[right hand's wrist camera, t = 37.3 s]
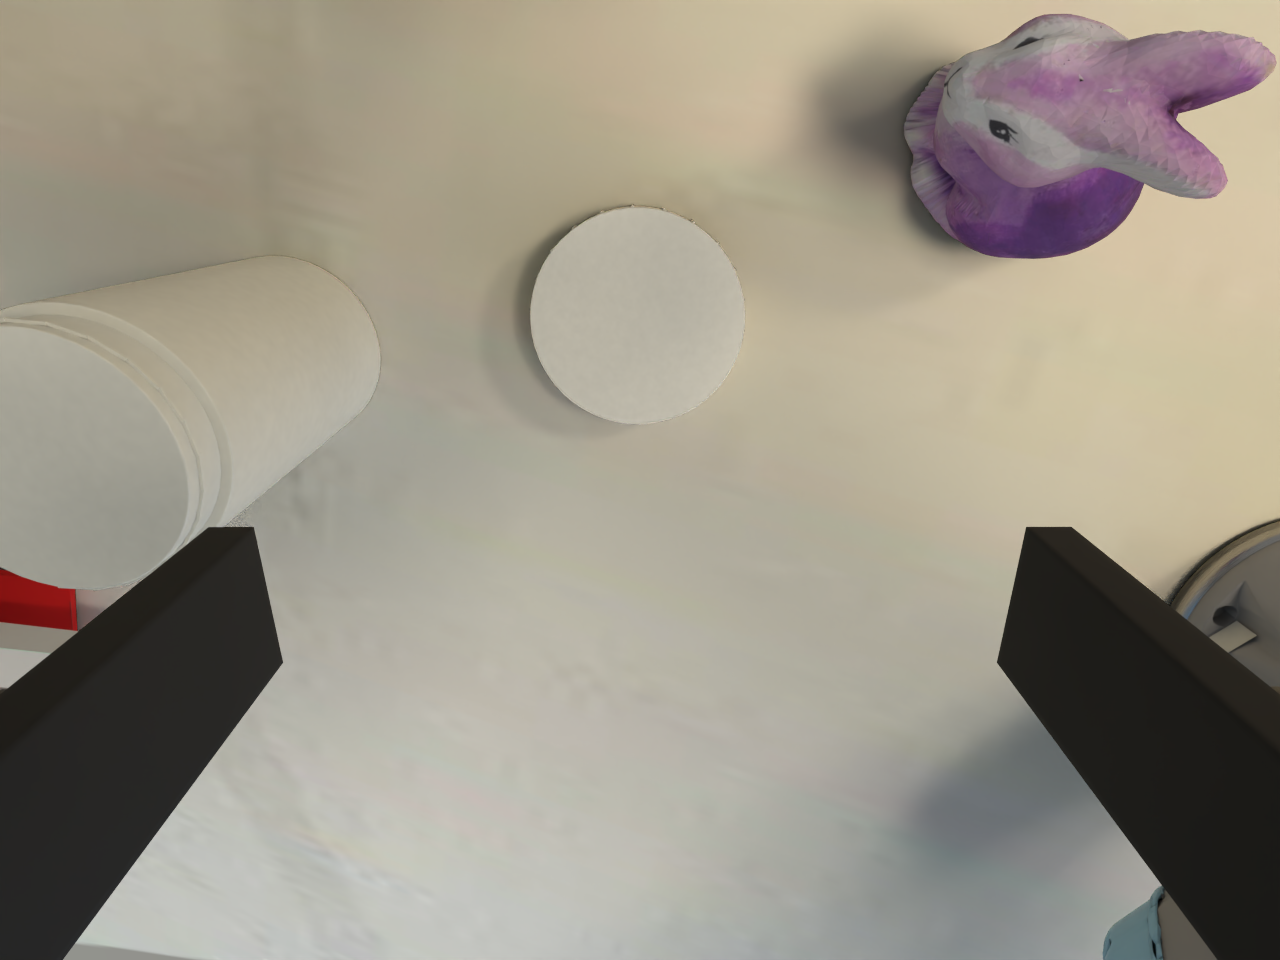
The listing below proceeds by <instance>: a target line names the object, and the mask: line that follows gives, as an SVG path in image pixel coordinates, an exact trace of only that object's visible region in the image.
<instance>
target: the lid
mask: <svg viewBox="0 0 1280 960" xmlns="http://www.w3.org/2000/svg"><path fill="white" fill-rule="evenodd" d="M535 280H536V282H535V285H534V288H533V293H532V299H531V307H530V324H531V333H532V338H533V343H534V347H535V350H536V352H537V355H538V358H539V360H540V362H541V364H542V366H543V368H544V370H545V372H546V373H547V375H548V376H549V378H550V379H551V381H552V382H553V383H554V385H555V386H556V387H557V388H558V389H559V390H560V391H561V393H563V394H564V395H565V396H566V397H567V398H568V399H569V400H570V401H572V402H573V403H574V404H576V405H577V406H579V407H580V408H582V409H583V410H585V411H587V412H589V413H591V414H593V415H595V416H598V417H600V418H603V419H606V420H609V421H614V422H618V423H625V424H651V423H657V422H662V421H666V420H669V419H673V418H675V417H678V416H680V415H682V414H685V413H687V412H688V411H690V410H692V409H694V408H695V407H697V406H698V405H700V404H701V403H702V402H704V401H705V400H706V399H708V398H709V397H710V396H711V395H712V394H713V393H714V392H715V391H716V390H717V389H718V387H719V386H720V385H721V384H722V382H723V381H724V380H725V379H726V377H727V375H728V374H729V372H730V370H731V369H732V367H733V365H734V363H735V361H736V358H737V356H738V354H739V351H740V347H741V344H742V340H743V334H744V328H745V305H744V301H745V299H744V297H743V293H742V288H741V284H740V281H739V279H738V276H737V274H736V268H734V267H733V265H732V263H731V262H730V260H729V258H728V256H727V255H726V254H725V252H724V251H723V250H722V248H721V247H720V246H719V242H718V241H717V240H714V239H713V238H712V237H711V236H710V235H709V234H707V233H706V232H705V231H704V230H702V229H701V228H700V227H699V226H697V225H696V224H695V221H693V220H692V219H691V221H690V220H688V219H686V218H684V217H683V216H680V215H678V214H675V213H673V212H671V211H667V210H666V209H665V208H662V209H659V208H655V207H646V206H634V204H632V205H631V206H627V207H621V208H615V209H611V210H608V211H605V212H604V211H603V210H602V211H601V212H600V213H599V214H597V215H595V216H593V217H591V218H589V219H587V220H586V221H584V222H583V223H581V224H579V225H578V226H576V225H575V226H573V227H572V230H571V231H570V232H569V233H568V234H567V235H565V236H564V237H563V238H562V239H561V240H560V241H559V242H558V244H557V245H556V246H555V247H553V248H552V249H551V250H550V254H549V255H548V257H547V258H546V260H545V261H544V263H543V265H542V267H541V269H540V272H539V274H538V276H537V277H536V279H535Z"/></svg>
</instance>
